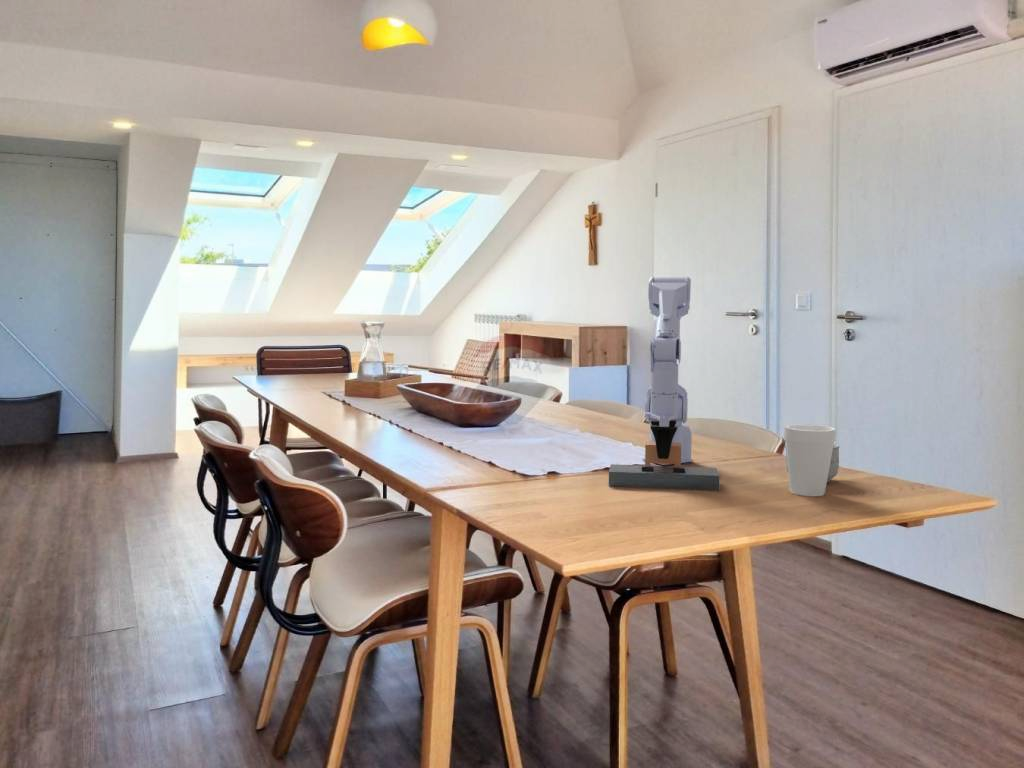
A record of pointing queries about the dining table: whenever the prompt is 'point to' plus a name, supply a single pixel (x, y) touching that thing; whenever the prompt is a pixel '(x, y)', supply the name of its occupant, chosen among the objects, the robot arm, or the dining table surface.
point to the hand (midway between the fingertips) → (662, 455)
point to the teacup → (833, 463)
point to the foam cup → (808, 457)
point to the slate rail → (664, 477)
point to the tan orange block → (653, 458)
